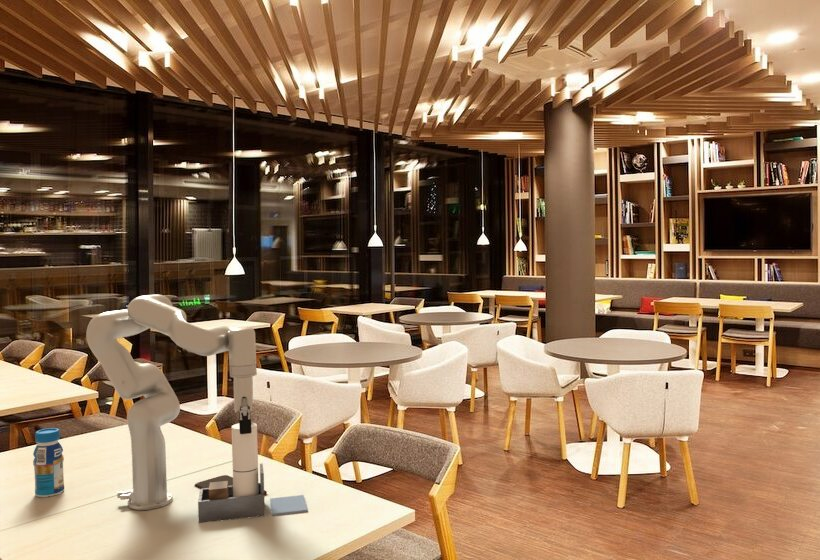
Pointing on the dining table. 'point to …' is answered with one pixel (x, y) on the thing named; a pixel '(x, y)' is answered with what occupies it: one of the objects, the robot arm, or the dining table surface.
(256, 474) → the cylindrical container
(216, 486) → the walnut offcut upper
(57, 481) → the beverage bottle
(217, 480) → the smartphone
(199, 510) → the rack
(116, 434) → the dining table surface
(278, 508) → the mat
